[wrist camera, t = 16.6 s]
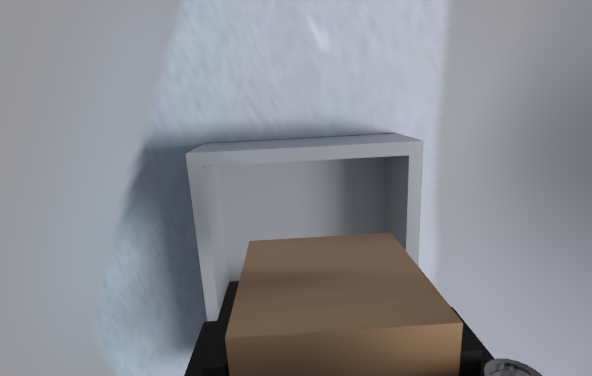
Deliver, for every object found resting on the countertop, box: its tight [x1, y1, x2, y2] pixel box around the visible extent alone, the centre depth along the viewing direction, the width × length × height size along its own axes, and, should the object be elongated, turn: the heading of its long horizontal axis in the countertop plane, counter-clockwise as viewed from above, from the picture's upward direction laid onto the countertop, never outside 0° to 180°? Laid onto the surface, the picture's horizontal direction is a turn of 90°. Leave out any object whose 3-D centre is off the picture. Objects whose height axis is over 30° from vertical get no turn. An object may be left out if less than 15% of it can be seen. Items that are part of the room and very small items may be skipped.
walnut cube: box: [225, 233, 463, 376], centre depth 10 cm, size 5×5×5 cm
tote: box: [185, 133, 423, 321], centre depth 24 cm, size 18×14×5 cm
